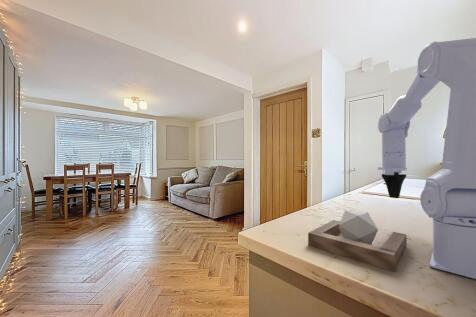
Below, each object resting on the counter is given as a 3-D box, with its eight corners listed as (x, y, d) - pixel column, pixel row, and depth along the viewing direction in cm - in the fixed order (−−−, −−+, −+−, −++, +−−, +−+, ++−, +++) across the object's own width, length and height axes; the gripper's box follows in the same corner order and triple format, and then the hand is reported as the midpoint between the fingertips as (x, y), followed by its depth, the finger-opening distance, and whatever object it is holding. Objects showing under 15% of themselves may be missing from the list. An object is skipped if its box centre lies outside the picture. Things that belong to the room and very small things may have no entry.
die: (376, 243, 53) (352, 209, 58) (394, 237, 46) (365, 199, 50) (348, 256, 52) (326, 220, 57) (362, 252, 45) (336, 211, 50)
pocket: (406, 246, 49) (406, 234, 49) (394, 271, 38) (393, 255, 38) (333, 230, 61) (333, 219, 61) (308, 244, 50) (308, 232, 50)
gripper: (383, 154, 71) (383, 193, 71) (372, 153, 61) (372, 198, 61) (409, 153, 66) (410, 195, 66) (402, 152, 56) (403, 202, 56)
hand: (394, 197), depth 63 cm, fingers closed
